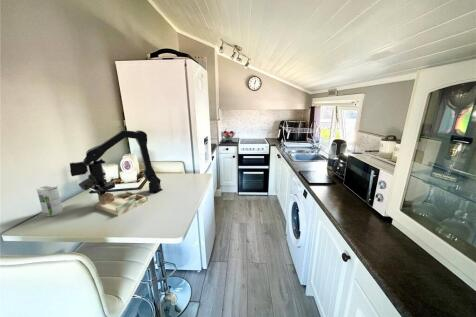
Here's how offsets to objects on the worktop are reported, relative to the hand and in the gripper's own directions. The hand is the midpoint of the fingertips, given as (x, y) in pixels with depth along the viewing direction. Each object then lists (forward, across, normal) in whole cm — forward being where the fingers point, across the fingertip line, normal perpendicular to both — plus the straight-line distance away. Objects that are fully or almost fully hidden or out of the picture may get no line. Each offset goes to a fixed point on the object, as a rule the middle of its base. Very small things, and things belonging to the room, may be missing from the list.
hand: (102, 198), depth 107 cm
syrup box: (+4, -13, -17) cm, 21 cm away
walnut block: (+1, +4, 0) cm, 4 cm away
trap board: (+4, +10, +4) cm, 12 cm away
